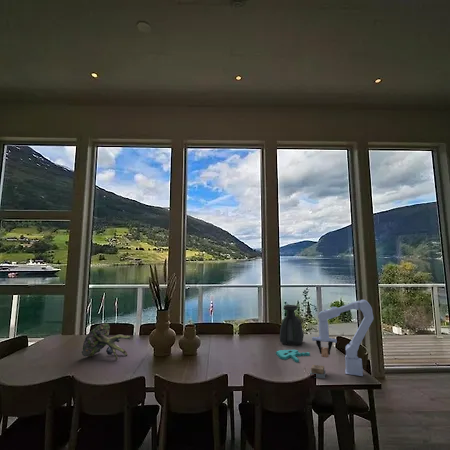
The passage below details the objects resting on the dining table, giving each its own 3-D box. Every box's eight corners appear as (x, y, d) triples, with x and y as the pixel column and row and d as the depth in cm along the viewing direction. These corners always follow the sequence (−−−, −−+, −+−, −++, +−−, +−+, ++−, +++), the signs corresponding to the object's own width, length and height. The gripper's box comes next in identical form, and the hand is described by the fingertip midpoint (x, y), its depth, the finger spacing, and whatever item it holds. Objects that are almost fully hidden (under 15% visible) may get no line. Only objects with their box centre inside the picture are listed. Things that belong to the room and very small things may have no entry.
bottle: (279, 344, 238) (278, 306, 242) (283, 339, 253) (282, 304, 257) (301, 346, 231) (300, 307, 235) (304, 341, 246) (302, 305, 250)
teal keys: (309, 355, 208) (284, 350, 221) (309, 352, 209) (284, 347, 221) (297, 363, 193) (271, 357, 206) (297, 359, 193) (271, 354, 206)
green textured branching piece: (73, 350, 193) (124, 347, 192) (87, 318, 214) (134, 315, 213) (85, 369, 206) (134, 366, 205) (97, 337, 227) (142, 334, 226)
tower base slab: (325, 374, 173) (325, 370, 173) (324, 379, 166) (324, 374, 166) (311, 372, 176) (311, 368, 176) (310, 377, 169) (310, 373, 169)
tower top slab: (324, 370, 173) (324, 366, 173) (322, 374, 167) (322, 369, 167) (313, 369, 175) (313, 364, 176) (311, 372, 170) (311, 368, 170)
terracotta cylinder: (329, 355, 182) (328, 347, 182) (328, 357, 177) (328, 349, 178) (321, 354, 183) (321, 346, 184) (321, 356, 179) (320, 348, 180)
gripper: (336, 330, 183) (337, 353, 181) (312, 328, 189) (313, 350, 187) (336, 333, 177) (337, 356, 175) (311, 331, 182) (312, 353, 180)
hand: (324, 353), depth 181 cm, fingers closed on terracotta cylinder, 4 cm apart
